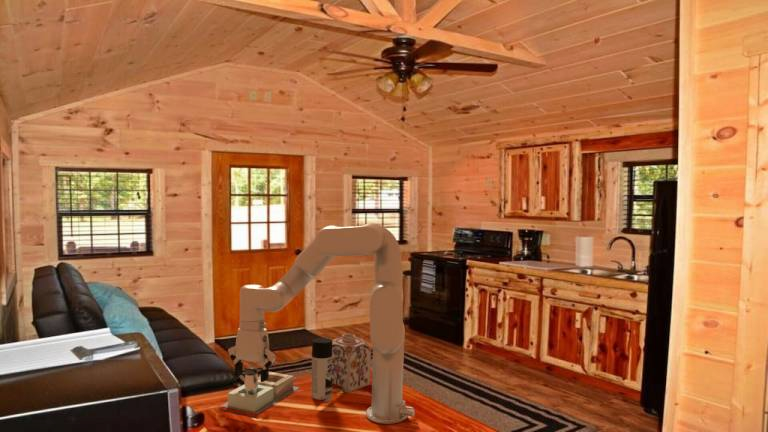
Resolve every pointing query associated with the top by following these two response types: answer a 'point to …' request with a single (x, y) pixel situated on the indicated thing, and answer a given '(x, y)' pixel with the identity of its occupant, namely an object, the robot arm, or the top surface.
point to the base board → (263, 406)
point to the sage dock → (250, 398)
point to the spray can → (322, 369)
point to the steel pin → (251, 380)
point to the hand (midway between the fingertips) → (251, 378)
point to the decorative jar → (350, 363)
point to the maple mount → (278, 383)
